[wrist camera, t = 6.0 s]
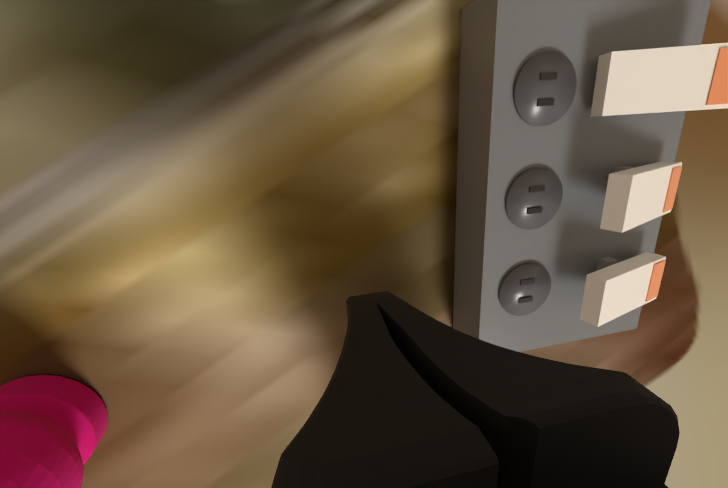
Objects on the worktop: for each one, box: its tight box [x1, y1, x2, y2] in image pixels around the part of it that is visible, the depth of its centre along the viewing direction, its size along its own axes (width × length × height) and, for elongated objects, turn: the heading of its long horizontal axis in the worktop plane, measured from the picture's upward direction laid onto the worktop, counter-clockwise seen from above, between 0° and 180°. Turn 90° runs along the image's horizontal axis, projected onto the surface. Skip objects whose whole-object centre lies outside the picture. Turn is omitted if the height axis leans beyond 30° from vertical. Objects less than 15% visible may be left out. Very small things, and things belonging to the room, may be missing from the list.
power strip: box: [453, 0, 711, 352], centre depth 21 cm, size 20×12×4 cm, turn 3°
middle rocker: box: [600, 161, 682, 233], centre depth 18 cm, size 3×6×1 cm, turn 93°
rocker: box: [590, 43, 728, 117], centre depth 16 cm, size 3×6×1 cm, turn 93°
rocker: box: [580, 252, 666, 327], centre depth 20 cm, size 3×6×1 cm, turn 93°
